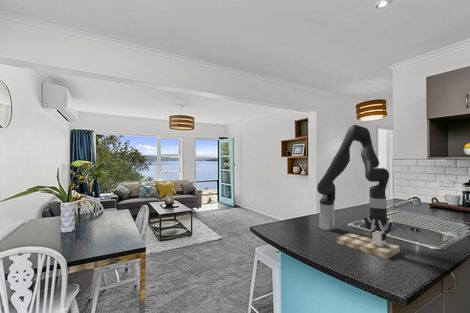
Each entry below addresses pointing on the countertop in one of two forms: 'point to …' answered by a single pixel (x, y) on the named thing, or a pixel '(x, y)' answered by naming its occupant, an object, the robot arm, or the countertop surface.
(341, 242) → the wooden grid board
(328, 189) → the robot arm
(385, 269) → the countertop surface
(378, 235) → the white cube
